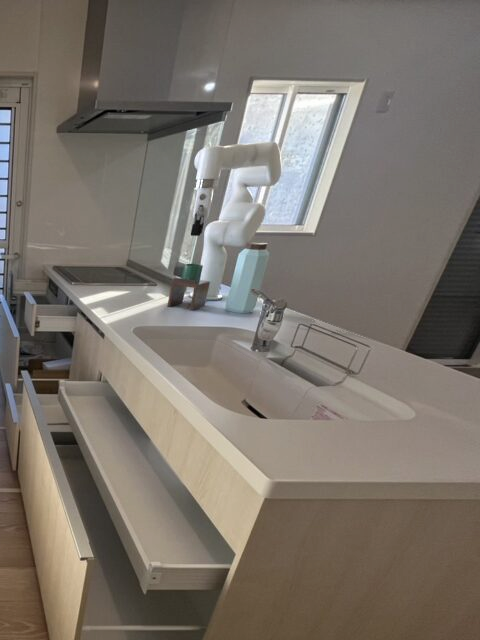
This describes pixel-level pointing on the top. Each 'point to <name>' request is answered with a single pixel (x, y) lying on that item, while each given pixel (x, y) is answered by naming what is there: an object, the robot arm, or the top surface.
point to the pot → (192, 271)
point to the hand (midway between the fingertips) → (196, 234)
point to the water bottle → (247, 277)
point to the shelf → (179, 290)
